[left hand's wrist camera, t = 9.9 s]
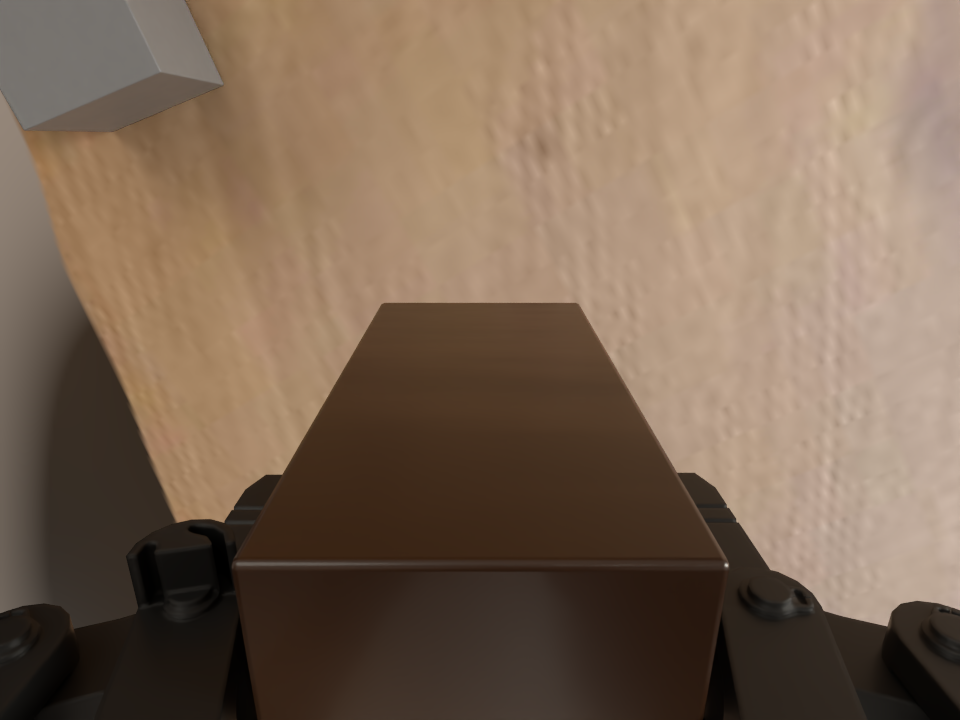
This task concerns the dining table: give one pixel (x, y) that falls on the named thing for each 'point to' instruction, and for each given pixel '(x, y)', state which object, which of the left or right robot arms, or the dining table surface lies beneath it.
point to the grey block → (99, 61)
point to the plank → (480, 536)
